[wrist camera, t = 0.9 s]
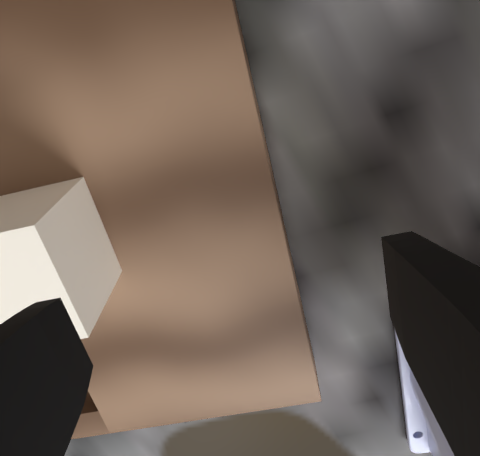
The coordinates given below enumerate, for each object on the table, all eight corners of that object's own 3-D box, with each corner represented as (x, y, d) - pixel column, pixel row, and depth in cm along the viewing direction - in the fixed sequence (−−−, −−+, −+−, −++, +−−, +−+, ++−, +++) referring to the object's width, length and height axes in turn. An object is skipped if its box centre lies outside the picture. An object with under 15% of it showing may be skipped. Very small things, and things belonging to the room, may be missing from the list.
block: (122, 271, 18) (88, 337, 14) (29, 289, 18) (-26, 358, 15) (83, 176, 16) (34, 225, 12) (-18, 200, 17) (-93, 253, 13)
